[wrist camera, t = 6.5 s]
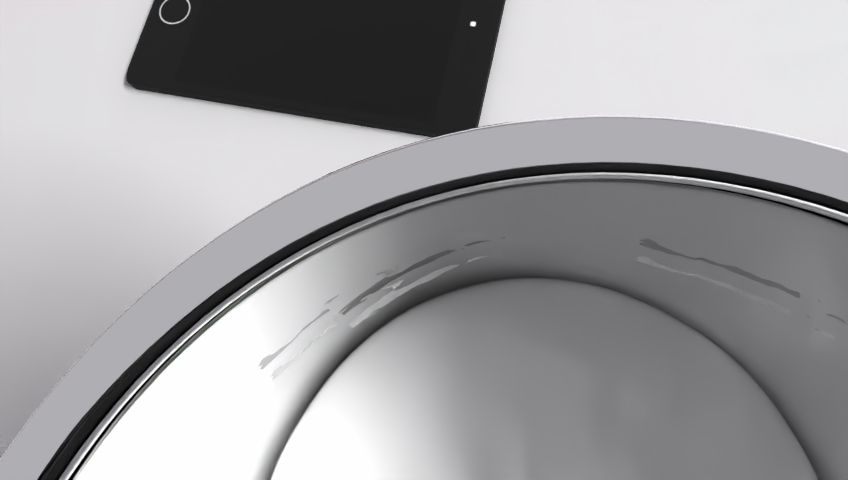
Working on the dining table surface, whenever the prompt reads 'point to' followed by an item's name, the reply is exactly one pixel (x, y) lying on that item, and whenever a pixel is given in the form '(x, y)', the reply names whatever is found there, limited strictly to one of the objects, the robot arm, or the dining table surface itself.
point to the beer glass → (491, 321)
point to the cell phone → (327, 58)
